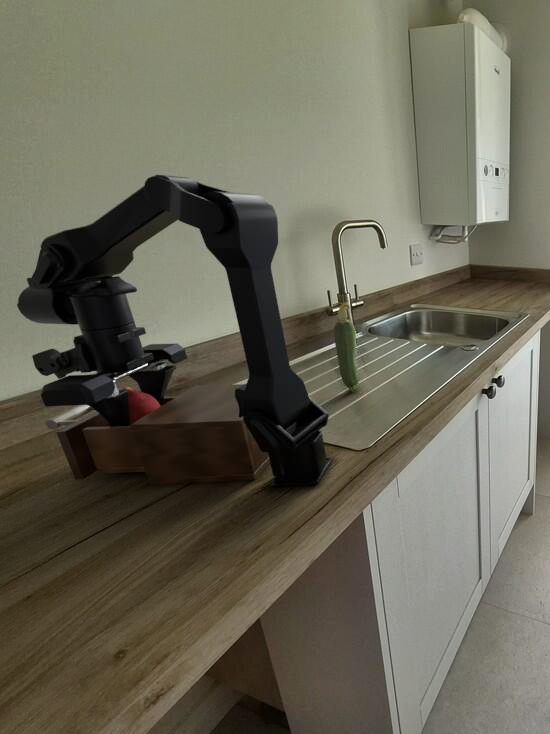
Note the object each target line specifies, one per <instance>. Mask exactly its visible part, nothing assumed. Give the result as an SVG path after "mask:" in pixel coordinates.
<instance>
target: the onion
mask: <svg viewBox="0 0 550 734" xmlns="http://www.w3.org/2000/svg"><path fill="white" fill-rule="evenodd" d="M121 390H128V399H129V426H130V424H132V423H134V422H135V421H137V420H139V419H141V418H142V417H144V416H146V415H147V414H149V413H151V412H152V411H154V410H156V409H157V408H159V407H161V406H160V404H159V403H158V401H157V400H156V399H155V398H154V397H152V396H151V395H149V394H147V393H144V392H141V390H136V389H133V388H132V387H129V386H125V387H124V386H123V387H122V389H121Z"/></svg>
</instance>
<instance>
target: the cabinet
mask: <svg viewBox="0 0 550 734" xmlns="http://www.w3.org/2000/svg"><path fill="white" fill-rule="evenodd" d="M245 384H246V383H240V384H236V383H235V384H212V385H211V384H209V385H208V384H207V385H194V386H192V387H191V388H189V389H187V390H186V391H184V392H182V393H180V394H179V395H177V396H178V397H176V398H174V399H173V400H171V401H169V402H167V403H166V404H164V405H162V406H161V407H159V408H157V409H156V410H154V411H152V412H151V413H149V414H147V415H146V416H144V417H142V418H141V419H139V420H137V421H135V422H134V423H132V424H130V427H131V430H132V433H133V436H134V439H135V442H136V445H137V447H138V450H139V453H140V456H141V459H142V462H143V465H144V468H145V471H146V472H145V474H146V477H147V479H148V483H149V485H169V484H191V483H211V482H213V483H214V482H233V481H252V480H253V481H254V480H256V479H257V478H258V477H259V476H260V474H262V472H263V471H264V470H265V469H266V467H267V466H268V465H269V464H270V459H269V455H268V452H262V451H261V449H260V448H259V446H258V444H257V443H256V441H255V439H254V438H253V436H252V434H251V433H250V431H249V429H248V428H247V427H246V425H245V422H244V419H243V416H242V417H241V418H240V417H239V406H238V403H237V400H236V398H235V390H236V389H237V388H239V387H241V386H243V385H245ZM287 429H288V428H287Z"/></svg>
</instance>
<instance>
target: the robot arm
mask: <svg viewBox="0 0 550 734" xmlns="http://www.w3.org/2000/svg"><path fill="white" fill-rule="evenodd" d="M278 219H279V218H278V215H277V212H276V209H275V207H274V205H272V204H271V203H270V202H268V201H267V200H266V198H264V197H262V196H261V195H258V194H255V193H243V192H232V191H229V190H226V189H222V188H218V187H214V186H211V185H207V184H205V183H202V182H199V181H197V180H194V179H192V178H190V177H186V176H178V175H177V176H176V175H167V174H166V175H165V174H155V175H153V176H150V177H147V179H146V180H145V181H144V185H143V186H141V187H140V188H139V189H137V190H135V192H133V193H132V194H130V195H129V196H127V197H126V198H125V199H123V200H122V201H121V202H120V203H118V204H117V205H116V206H114V207H113V208H111V209H110V210H108V211H107V212H105V213H104V214H103V215H102V216H100V217H99V218H97V219H96V220H95V221H93V222H92V223H90V224H87V225H84V226H79V227H74V228H69V229H65V230H62V231H59V232H57V233H54V234H51V235H49V236H47V237H45V238H43V240H42V242H41V243H40V250H39V254H38V257H37V261H36V266H35V269H34V272H33V274H32V276H31V277H27V278H26V281H27V284H28V286H27V287H26V288H24V289H23V290H22V291H21V292H20V293H19V296H18V298H17V299H18V300H17V304H16V307H17V309H18V311H19V312H20V314H21V315H22V316H23V317H24V318H26V319H28V320H29V321H30V322H34V323H37V324H44V325H45V324H47V325H50V324H51V325H74V326H75V325H78V327H79V330H80V333H81V334H80V335H77V336H74V337H73V340H72V342H73V345H74V347H73V348H71V349H67V350H64V351H61V352H60V351H59V350H57V349H55V348H49V349H45V350H43V351H39V352H37V353H35V354H32V355H31V357H32V361H33V365H34V367H35V369H36V370H37V372H38V373H39V374H40V375H42V376H45V377H48V376H51V375H54V376H55V377H56V378H57V380H54V381H52V382H48V383H46V384H44V385H43V386H42V388H41V389H40V390H39V394H40V398H41V401H42V402H43V405H44V407H66V406H69V407H70V406H79V405H89V406H90V407H92V408H93V409H95V410H94V411H95V412H96V411H97V412H98V413H100V414H101V415H102V416H103V417H104V418H105V419H106V420H107V421H108V422H109V423H110V424H111V425H112V426H129V399H128V390H122V389H118V388H119V387H118V386H117V381H120V380H122V379H124V378H126V377H129V378H131V379H132V380H133V381H135V382H136V383H137V385H138V387H139V391H141V392H144V393H147V394H149V395H151V396H152V397H154V398H155V399H156V400H157V401H158V403H159V404H160V406H161V405H162V402H163V399H164V397H166V392H167V389H168V386H169V384H170V381H171V378H172V376H173V373H174V371H176V370H177V365H176V364H179V363H181V362H183V361H185V360H187V359H188V355H187V353H186V349H185V347H183V346H182V345H180V344H179V343H150V344H147V345H145V346H143V344H142V341H141V338H140V337H141V336H144V335H146V334H147V330H146V329H145V326H139V327H138V326H137V325H136V322H135V318H134V315H133V312H132V309H131V306H130V303H129V299H128V296H127V294H132V293H136V292H137V291H138V289H137V287H136V286H135V285H133V284H132V283H130V282H127V281H125V280H124V279H122V277H120V274H122V273H123V272H124V271H125V270H126V269H127V268H128V267H129V265H130V264H131V263H132V262H133V261H134V258H135V257H134V252H135V250H136V249H137V248H138V247H139V246H141V245H143V244H145V243H146V242H148V241H149V240H150V239H152V238H153V237H154V236H156V235H158V234H159V233H161V232H162V231H164V230H165V229H167V228H168V227H170V226H171V225H173V224H174V223H175V222H177V221H179V222H181V223H183V224H186V225H188V226H191V227H193V228H196V229H198V230H199V232H200V235H201V237H202V240H203V242H204V245H205V247H206V249H208V251H209V252H210V253H211V254H212V255H213V257H214V258H215V259H216V260H217V261H218V262H219V264H221V266H223V267H224V269H225V272H226V276H227V281H228V286H229V290H230V294H231V299H232V302H233V307H234V313H235V316H236V320H237V325H238V330H239V334H240V339H241V342H242V346H243V352H244V356H245V361H246V365H247V369H248V379H247V381H246V383H244V384H245V385H243V386H241V387H239V388H237V389H236V390H235V398H236V400H237V403H238V406H239V417H240V418H241V417H242V416H243V419H244V422H245V425H246V427H247V428H248V429H249V431H250V433H251V434H252V436H253V438H254V439H255V441H256V443H257V444H258V446H259V448H260V449H261V451H262V452H268V455H269V459H270V463H269V464H270V468H271V473H272V476H273V477H274V479H273V481H271V487H272V488H285V487H307V486H317V485H318V484H319V483H320V481H321V480H322V478H323V477H324V474H325V473H326V471H327V469H328V468H329V467H330V464H331V463H332V461H333V460H332V457H327V454H326V449H325V442H324V437H323V431H321V429H322V428H325V427H326V426H328V422H329V416H330V415H329V413H328V412H327V411H326V410H325V409H324V408H323V407H321V406H320V405H319V404H318V403H317V402H316V401H315V400H314V399H312V397H310V395H309V393H308V390H307V388H306V384H305V382H304V380H303V379H302V378H301V377H300V375H298V374H297V373H296V371H294V370H293V369H292V368H291V365H290V361H289V360H290V359H289V354H288V350H287V346H286V340H285V334H284V328H283V323H282V319H281V313H280V308H279V302H278V298H277V293H276V292H277V291H276V287H275V282H274V277H273V272H272V263H273V260H274V257H275V254H276V251H277V250H278V246H279V220H278ZM118 275H119V276H118ZM167 361H168V362H169V363H171V364H173V365H168V364H167ZM74 372H75V373H76V372H77V373H79V372H80V373H81V374H73V375H70V374H72V373H74ZM92 372H96V374H89V373H92ZM83 373H86V374H83ZM87 373H88V374H87ZM287 428H288V429H287Z"/></svg>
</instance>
